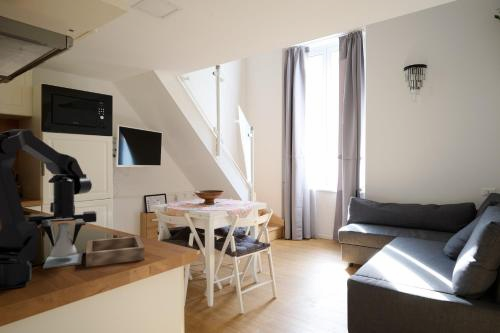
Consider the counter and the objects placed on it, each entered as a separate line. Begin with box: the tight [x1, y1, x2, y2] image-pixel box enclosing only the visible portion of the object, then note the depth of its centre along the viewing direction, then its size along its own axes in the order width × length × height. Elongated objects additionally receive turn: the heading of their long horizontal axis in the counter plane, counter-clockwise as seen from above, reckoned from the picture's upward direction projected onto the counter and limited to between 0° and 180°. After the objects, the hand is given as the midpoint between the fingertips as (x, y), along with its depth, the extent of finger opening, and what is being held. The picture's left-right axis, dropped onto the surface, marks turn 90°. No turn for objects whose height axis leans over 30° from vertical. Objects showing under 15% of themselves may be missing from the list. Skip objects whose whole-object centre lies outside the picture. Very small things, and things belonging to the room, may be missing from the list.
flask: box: [49, 222, 78, 258], centre depth 100 cm, size 7×7×10 cm
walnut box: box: [85, 235, 145, 268], centre depth 107 cm, size 17×17×4 cm
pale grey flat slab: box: [42, 252, 83, 269], centre depth 100 cm, size 10×10×1 cm
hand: (63, 245), depth 100 cm, fingers closed on flask, 5 cm apart
